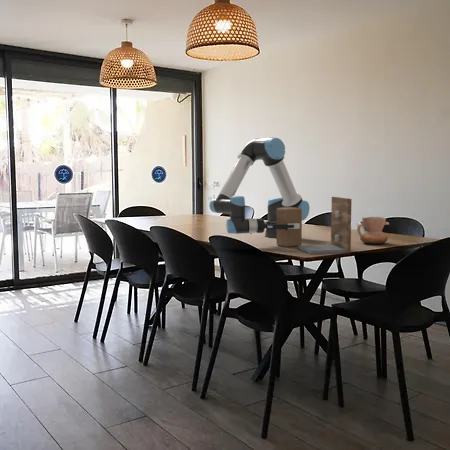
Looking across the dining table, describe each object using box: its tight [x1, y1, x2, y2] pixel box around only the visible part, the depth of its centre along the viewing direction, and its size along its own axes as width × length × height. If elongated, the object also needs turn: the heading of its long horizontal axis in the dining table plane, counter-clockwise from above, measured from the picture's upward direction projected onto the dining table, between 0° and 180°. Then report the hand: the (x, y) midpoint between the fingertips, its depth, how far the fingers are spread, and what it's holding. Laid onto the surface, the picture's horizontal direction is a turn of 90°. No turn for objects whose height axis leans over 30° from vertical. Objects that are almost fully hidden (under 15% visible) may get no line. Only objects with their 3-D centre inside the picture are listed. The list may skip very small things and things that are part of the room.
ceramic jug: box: [356, 216, 390, 245], centre depth 283 cm, size 18×14×14 cm
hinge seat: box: [297, 243, 347, 255], centre depth 260 cm, size 18×18×2 cm
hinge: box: [356, 220, 366, 234], centre depth 317 cm, size 17×5×10 cm, turn 178°
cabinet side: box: [330, 196, 352, 254], centre depth 261 cm, size 3×20×26 cm, turn 10°
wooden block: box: [276, 207, 303, 248], centre depth 277 cm, size 10×10×20 cm
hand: (295, 224), depth 278 cm, fingers closed on wooden block, 12 cm apart
